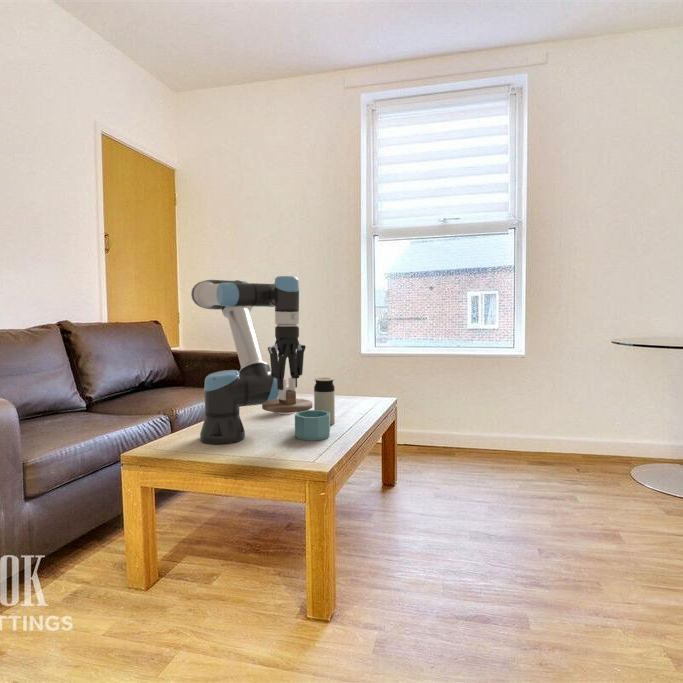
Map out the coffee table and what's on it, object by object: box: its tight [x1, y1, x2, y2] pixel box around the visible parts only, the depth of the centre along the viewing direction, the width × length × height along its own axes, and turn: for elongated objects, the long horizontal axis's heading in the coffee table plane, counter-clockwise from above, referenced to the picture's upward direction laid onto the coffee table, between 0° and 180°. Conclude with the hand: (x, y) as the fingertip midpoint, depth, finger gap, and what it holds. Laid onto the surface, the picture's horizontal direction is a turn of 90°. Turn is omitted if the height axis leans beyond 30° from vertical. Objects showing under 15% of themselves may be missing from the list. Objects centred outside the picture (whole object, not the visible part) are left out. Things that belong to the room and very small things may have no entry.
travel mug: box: [313, 376, 336, 426], centre depth 185 cm, size 8×8×18 cm
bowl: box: [294, 409, 331, 442], centre depth 167 cm, size 12×12×8 cm
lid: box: [261, 389, 313, 414], centre depth 151 cm, size 16×16×5 cm
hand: (287, 398), depth 151 cm, fingers closed on lid, 3 cm apart
